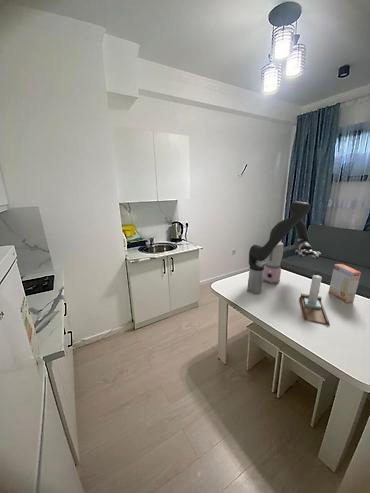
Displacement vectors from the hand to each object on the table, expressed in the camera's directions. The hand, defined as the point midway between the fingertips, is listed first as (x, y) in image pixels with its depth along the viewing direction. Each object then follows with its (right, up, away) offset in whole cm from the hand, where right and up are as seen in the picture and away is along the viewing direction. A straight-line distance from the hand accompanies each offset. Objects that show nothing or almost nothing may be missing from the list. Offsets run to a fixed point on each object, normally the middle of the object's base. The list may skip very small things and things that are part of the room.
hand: (309, 256), depth 128 cm
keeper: (0, -29, -2) cm, 29 cm away
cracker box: (+25, -27, +7) cm, 37 cm away
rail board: (-2, -31, -6) cm, 32 cm away
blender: (-12, -21, +29) cm, 38 cm away
